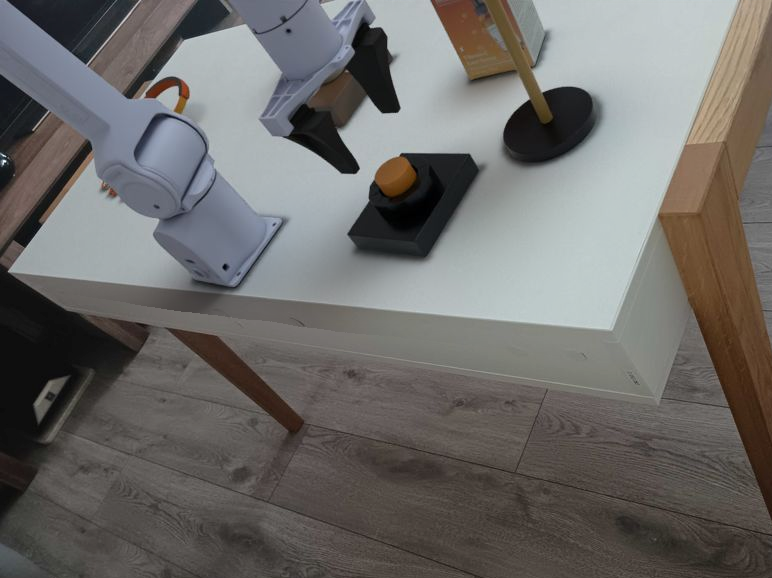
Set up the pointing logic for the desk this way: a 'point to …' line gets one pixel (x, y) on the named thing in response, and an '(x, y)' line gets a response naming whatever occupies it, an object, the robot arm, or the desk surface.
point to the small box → (489, 34)
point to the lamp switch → (395, 176)
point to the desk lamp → (541, 107)
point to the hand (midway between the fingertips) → (371, 140)
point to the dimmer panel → (340, 97)
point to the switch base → (415, 205)
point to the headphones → (158, 89)
